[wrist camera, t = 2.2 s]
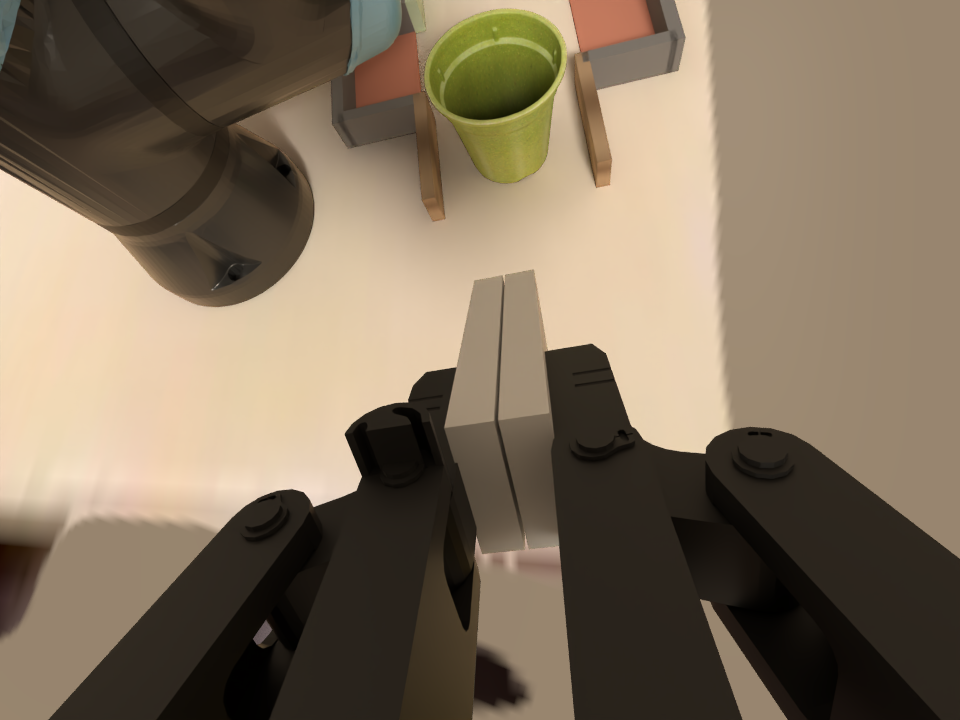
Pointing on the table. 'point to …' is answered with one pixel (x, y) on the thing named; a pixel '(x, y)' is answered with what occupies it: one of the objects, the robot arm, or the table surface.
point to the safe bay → (416, 14)
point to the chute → (591, 123)
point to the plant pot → (499, 88)
